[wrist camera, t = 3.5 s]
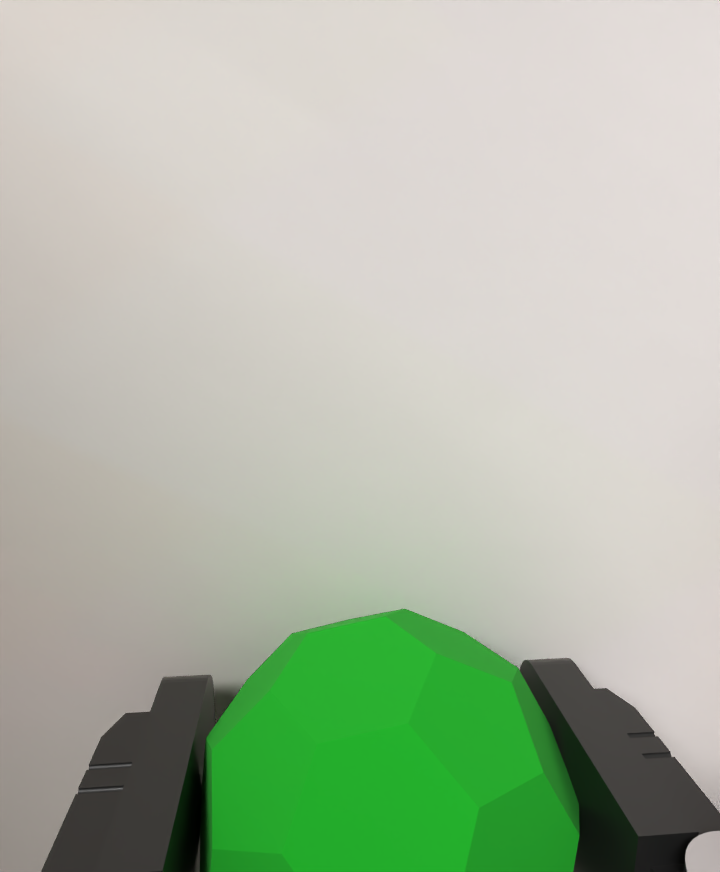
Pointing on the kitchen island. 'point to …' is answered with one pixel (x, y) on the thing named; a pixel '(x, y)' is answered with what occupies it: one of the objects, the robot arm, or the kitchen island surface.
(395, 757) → the polyhedron
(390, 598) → the kitchen island surface
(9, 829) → the kitchen island surface
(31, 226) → the kitchen island surface
